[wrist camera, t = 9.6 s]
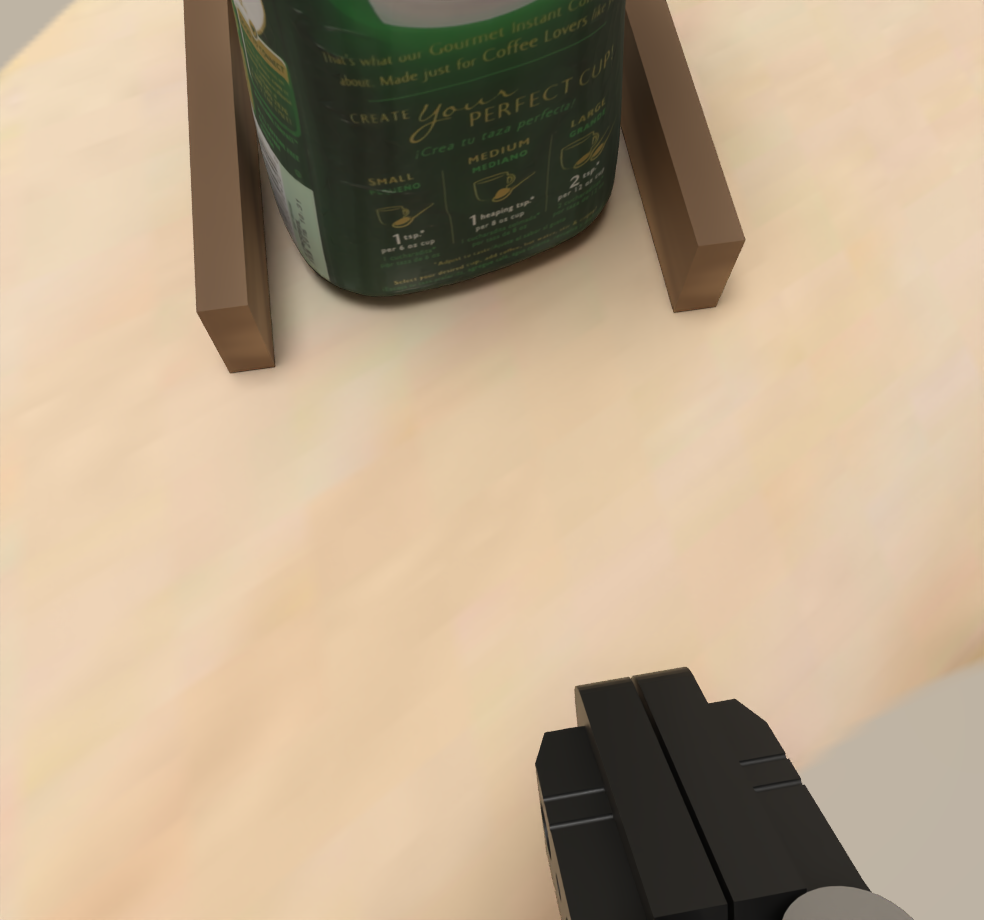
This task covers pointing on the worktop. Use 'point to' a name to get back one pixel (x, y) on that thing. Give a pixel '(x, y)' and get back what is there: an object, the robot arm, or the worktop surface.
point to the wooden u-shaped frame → (644, 121)
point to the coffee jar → (433, 130)
